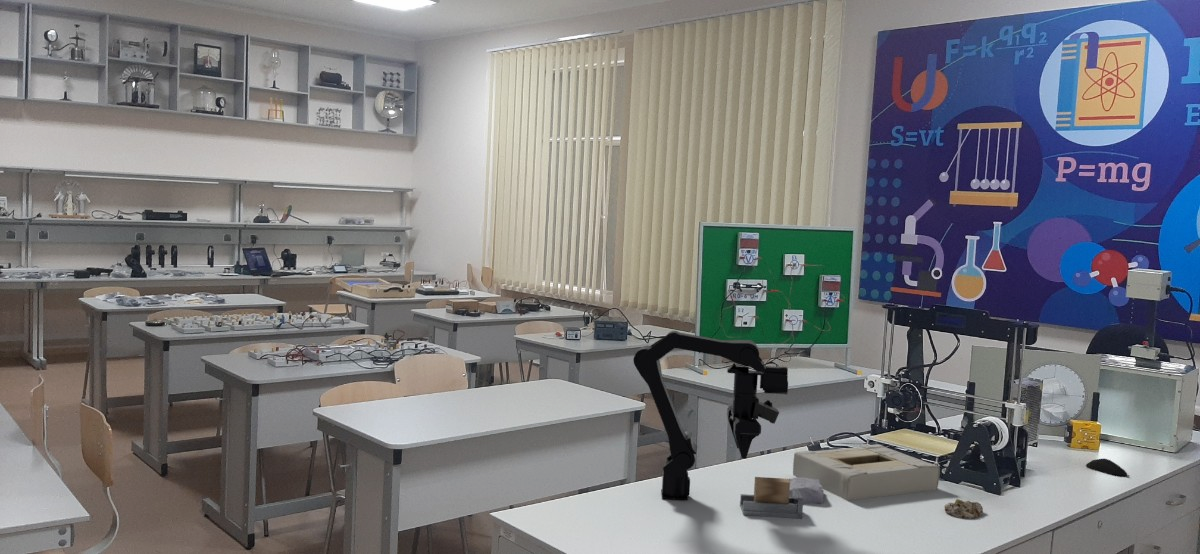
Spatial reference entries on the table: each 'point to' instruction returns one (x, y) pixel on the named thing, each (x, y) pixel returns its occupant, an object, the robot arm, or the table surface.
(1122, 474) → the black teardrop lump
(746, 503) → the floor track
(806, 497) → the stone block
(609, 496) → the table surface
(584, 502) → the table surface
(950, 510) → the mineral rock
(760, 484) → the brown wooden block
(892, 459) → the box
